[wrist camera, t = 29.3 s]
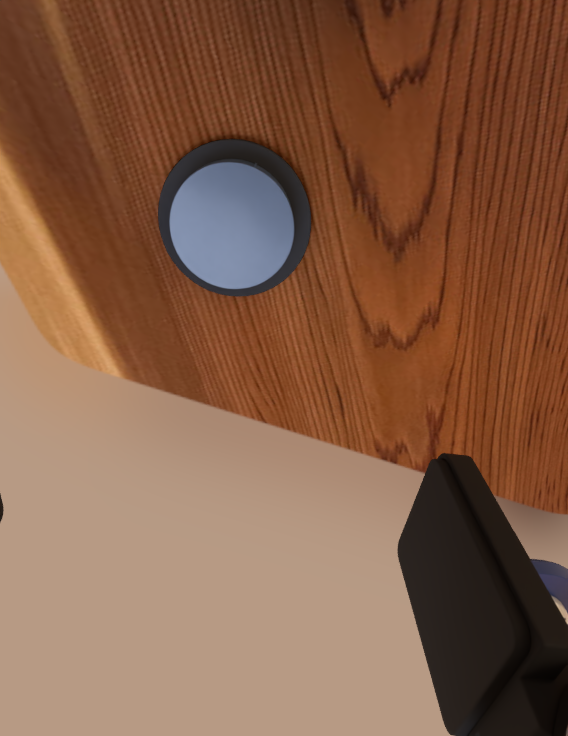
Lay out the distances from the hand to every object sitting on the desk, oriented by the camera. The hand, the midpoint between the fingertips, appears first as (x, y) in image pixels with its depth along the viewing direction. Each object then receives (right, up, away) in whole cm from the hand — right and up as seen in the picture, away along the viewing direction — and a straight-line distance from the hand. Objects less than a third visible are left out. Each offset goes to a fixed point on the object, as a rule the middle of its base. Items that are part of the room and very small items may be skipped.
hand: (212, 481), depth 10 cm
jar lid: (-1, +10, +16) cm, 19 cm away
